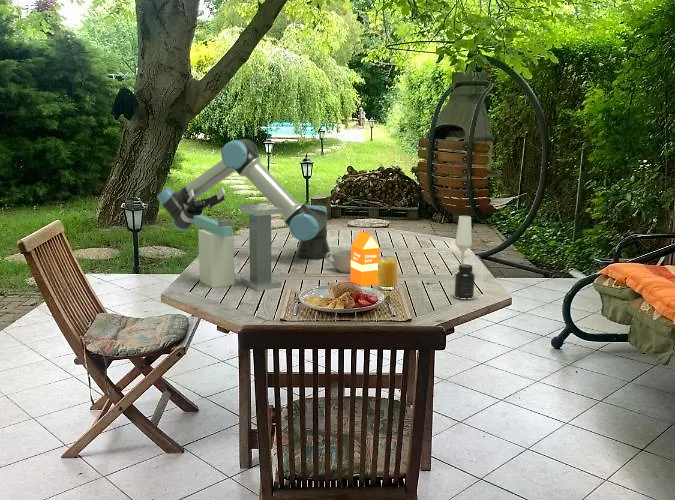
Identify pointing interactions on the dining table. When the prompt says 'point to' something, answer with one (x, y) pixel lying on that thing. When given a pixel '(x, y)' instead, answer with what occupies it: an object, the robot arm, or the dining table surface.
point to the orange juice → (364, 260)
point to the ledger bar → (214, 225)
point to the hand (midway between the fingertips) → (208, 191)
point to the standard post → (260, 246)
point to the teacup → (341, 260)
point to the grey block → (216, 259)
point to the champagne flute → (463, 235)
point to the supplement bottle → (464, 282)
